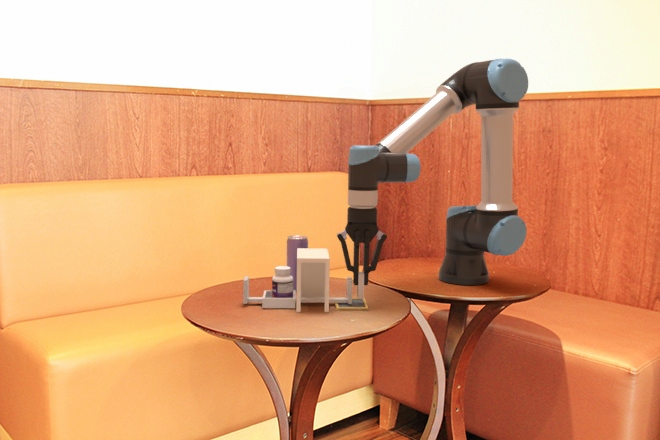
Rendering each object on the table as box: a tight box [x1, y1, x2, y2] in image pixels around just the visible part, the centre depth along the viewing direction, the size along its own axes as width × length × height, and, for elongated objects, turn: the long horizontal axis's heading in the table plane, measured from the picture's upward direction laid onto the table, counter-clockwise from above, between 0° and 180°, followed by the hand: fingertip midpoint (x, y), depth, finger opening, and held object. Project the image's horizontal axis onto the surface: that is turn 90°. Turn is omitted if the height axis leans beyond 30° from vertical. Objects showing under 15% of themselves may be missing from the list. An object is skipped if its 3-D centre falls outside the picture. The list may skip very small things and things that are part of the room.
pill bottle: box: [271, 265, 293, 298], centre depth 164 cm, size 5×5×10 cm
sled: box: [242, 275, 353, 309], centre depth 165 cm, size 28×8×7 cm, turn 93°
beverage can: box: [286, 234, 309, 292], centre depth 181 cm, size 6×6×15 cm
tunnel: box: [295, 247, 331, 313], centre depth 165 cm, size 8×14×14 cm, turn 3°
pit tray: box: [334, 297, 369, 311], centre depth 166 cm, size 8×10×1 cm
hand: (360, 297), depth 166 cm, fingers closed
